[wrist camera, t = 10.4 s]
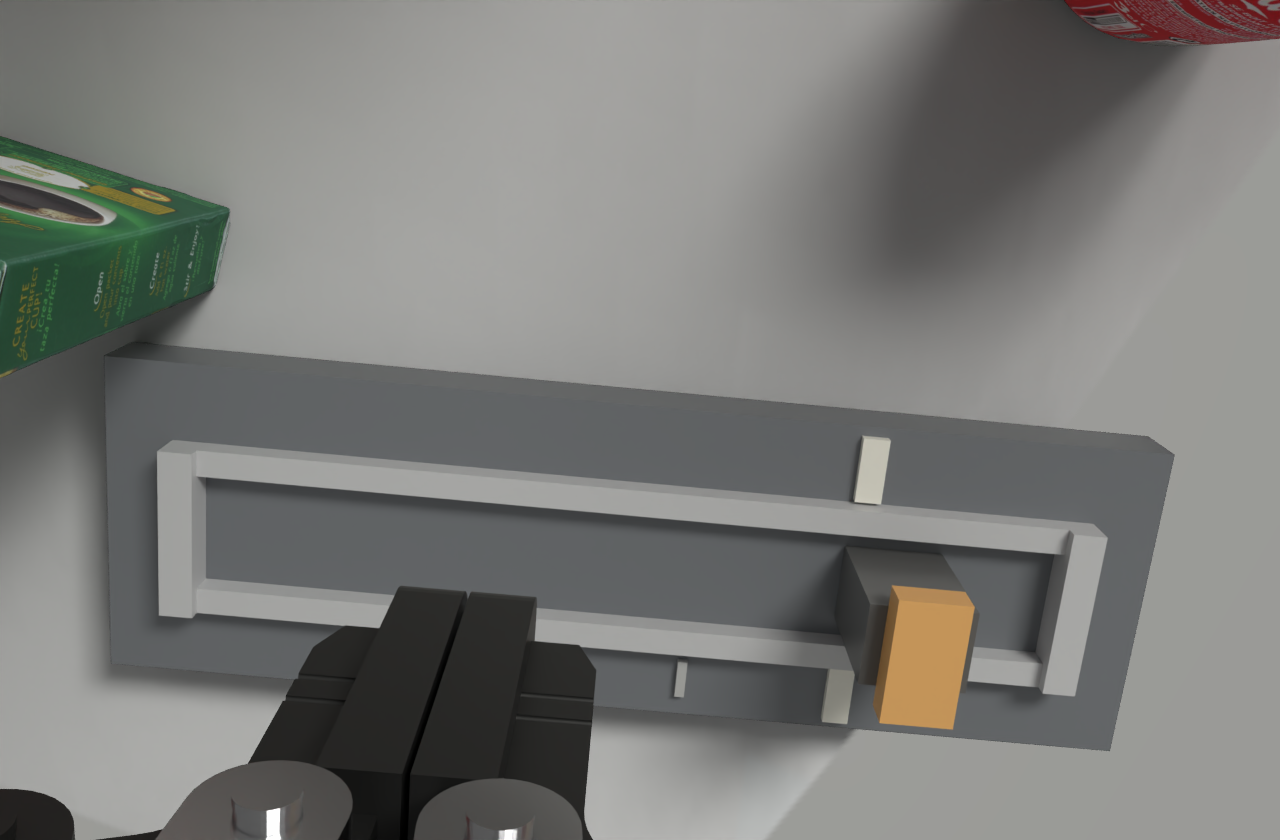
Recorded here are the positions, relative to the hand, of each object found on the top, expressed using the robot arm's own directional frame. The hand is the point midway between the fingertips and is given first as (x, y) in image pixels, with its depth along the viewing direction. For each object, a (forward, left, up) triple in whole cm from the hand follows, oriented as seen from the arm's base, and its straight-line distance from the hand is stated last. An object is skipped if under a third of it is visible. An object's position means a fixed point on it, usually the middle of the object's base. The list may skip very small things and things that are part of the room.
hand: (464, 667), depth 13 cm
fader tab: (+8, +10, -23) cm, 26 cm away
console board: (+8, +2, -25) cm, 26 cm away
